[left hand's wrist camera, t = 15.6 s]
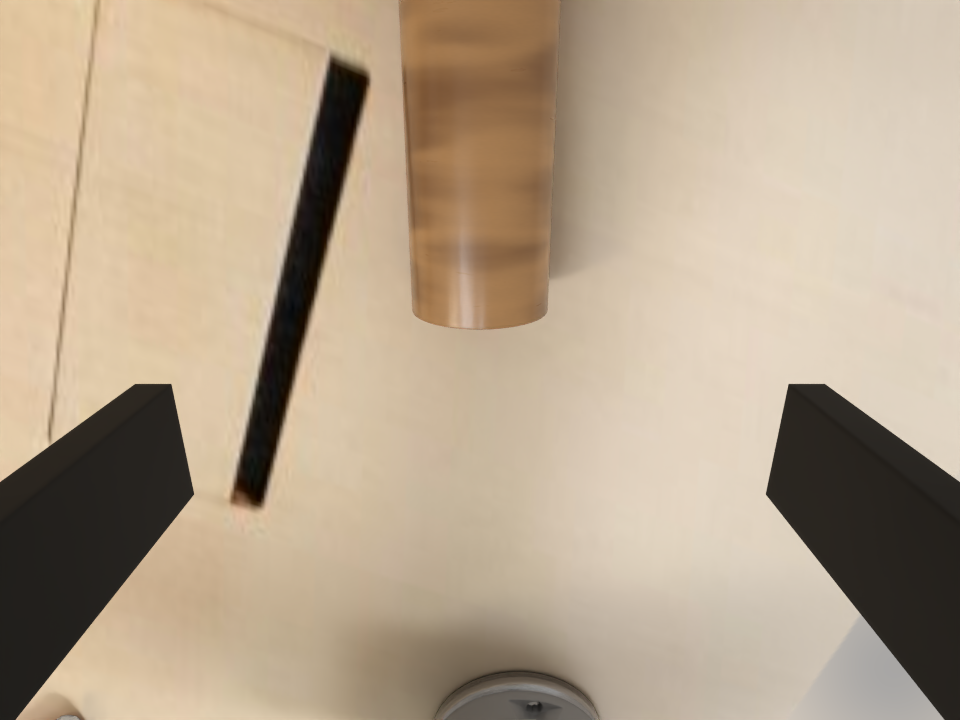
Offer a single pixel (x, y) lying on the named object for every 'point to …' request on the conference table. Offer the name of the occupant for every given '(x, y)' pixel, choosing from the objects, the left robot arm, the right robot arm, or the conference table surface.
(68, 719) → the fish
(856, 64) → the conference table surface
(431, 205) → the rod
